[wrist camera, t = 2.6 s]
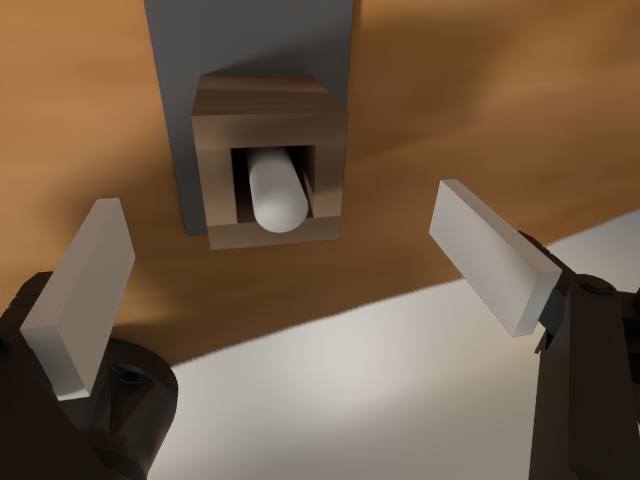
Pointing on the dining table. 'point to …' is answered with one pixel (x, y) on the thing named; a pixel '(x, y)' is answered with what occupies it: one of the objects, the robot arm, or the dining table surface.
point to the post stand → (245, 59)
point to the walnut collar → (267, 131)
